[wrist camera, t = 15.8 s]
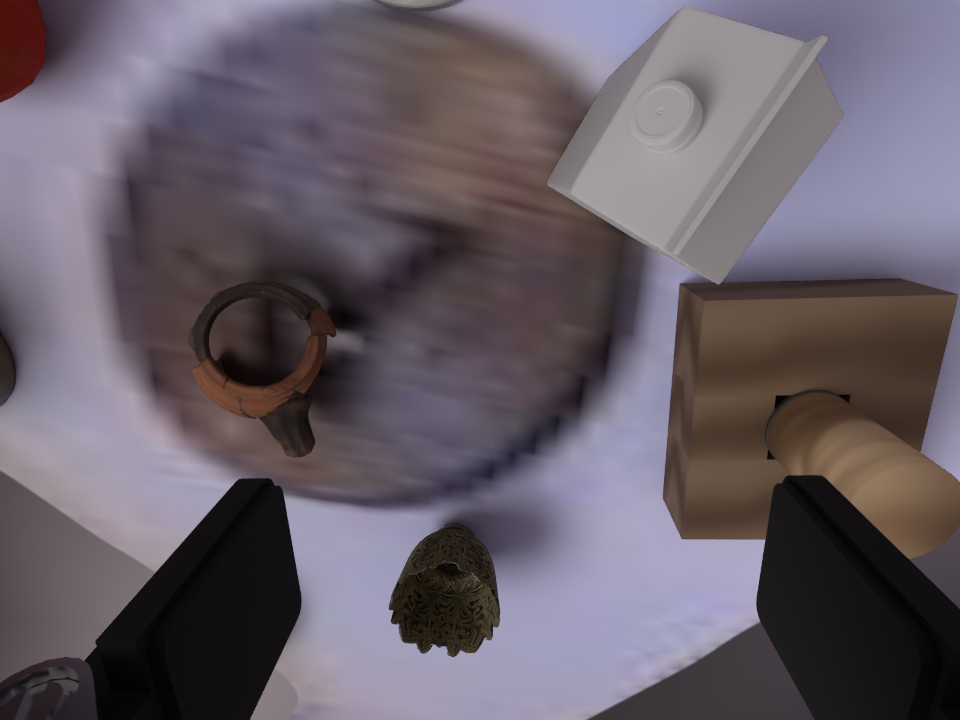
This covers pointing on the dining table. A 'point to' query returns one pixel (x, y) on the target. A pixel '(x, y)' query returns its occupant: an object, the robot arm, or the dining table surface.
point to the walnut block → (787, 382)
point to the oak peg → (866, 468)
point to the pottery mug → (270, 400)
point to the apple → (20, 45)
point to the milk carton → (700, 138)
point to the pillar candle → (5, 372)
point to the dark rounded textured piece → (447, 593)
